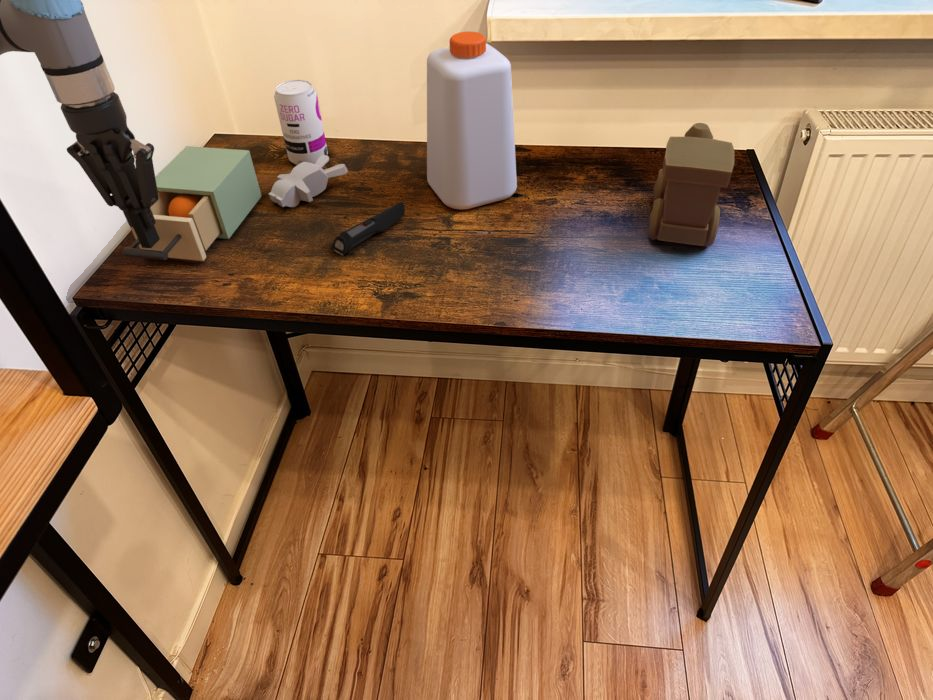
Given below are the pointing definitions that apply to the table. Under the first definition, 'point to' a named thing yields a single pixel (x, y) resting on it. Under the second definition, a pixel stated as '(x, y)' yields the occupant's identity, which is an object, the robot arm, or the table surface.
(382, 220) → the electric trimmer
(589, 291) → the table surface
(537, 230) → the table surface
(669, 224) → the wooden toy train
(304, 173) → the bunny figurine
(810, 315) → the table surface
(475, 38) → the plastic bottle
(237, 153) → the cabinet
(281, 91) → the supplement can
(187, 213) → the ball
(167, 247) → the drawer
